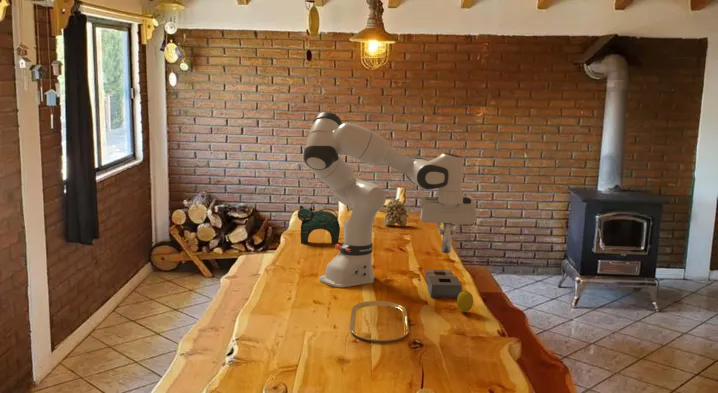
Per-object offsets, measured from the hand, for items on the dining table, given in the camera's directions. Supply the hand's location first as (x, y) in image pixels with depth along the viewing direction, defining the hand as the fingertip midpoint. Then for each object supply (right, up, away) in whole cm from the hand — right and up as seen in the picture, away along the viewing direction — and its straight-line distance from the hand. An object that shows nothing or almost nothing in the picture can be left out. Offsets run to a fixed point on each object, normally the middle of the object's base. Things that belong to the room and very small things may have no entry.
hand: (447, 234), depth 252 cm
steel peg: (0, -7, +1) cm, 7 cm away
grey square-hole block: (-1, -22, +4) cm, 23 cm away
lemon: (+4, -26, -15) cm, 31 cm away
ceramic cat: (-52, -8, +72) cm, 89 cm away
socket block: (-1, -20, +16) cm, 26 cm away
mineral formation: (-13, -2, +110) cm, 111 cm away
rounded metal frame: (-26, -28, -27) cm, 47 cm away
